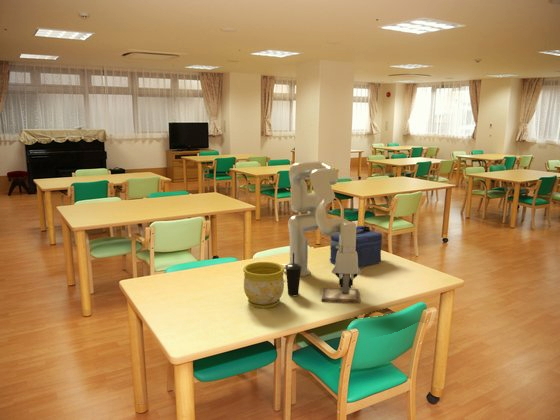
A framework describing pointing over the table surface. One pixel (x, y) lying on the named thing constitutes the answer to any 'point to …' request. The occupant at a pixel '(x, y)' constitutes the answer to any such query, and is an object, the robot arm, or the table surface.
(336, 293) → the board
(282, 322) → the table surface
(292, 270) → the drinking cup
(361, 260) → the lunch bag
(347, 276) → the translucent bottle
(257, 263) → the flowerpot
